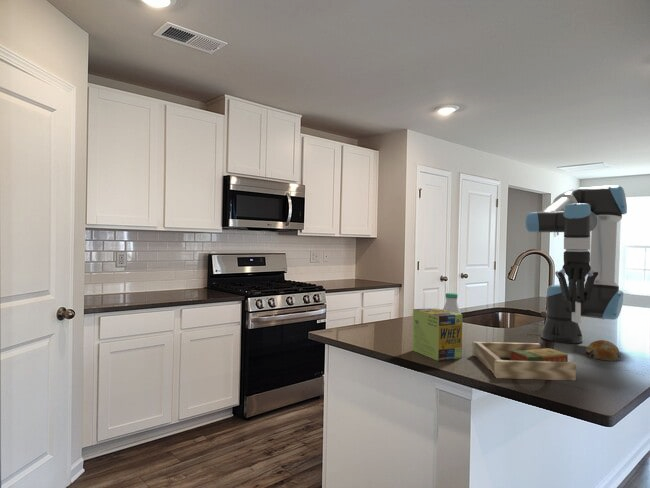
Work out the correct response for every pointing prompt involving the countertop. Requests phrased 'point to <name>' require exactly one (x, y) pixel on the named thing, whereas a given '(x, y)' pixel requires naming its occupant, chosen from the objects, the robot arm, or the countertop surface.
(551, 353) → the carton
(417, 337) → the protein box
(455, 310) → the milk bottle
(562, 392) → the countertop surface
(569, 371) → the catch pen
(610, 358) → the bread roll
